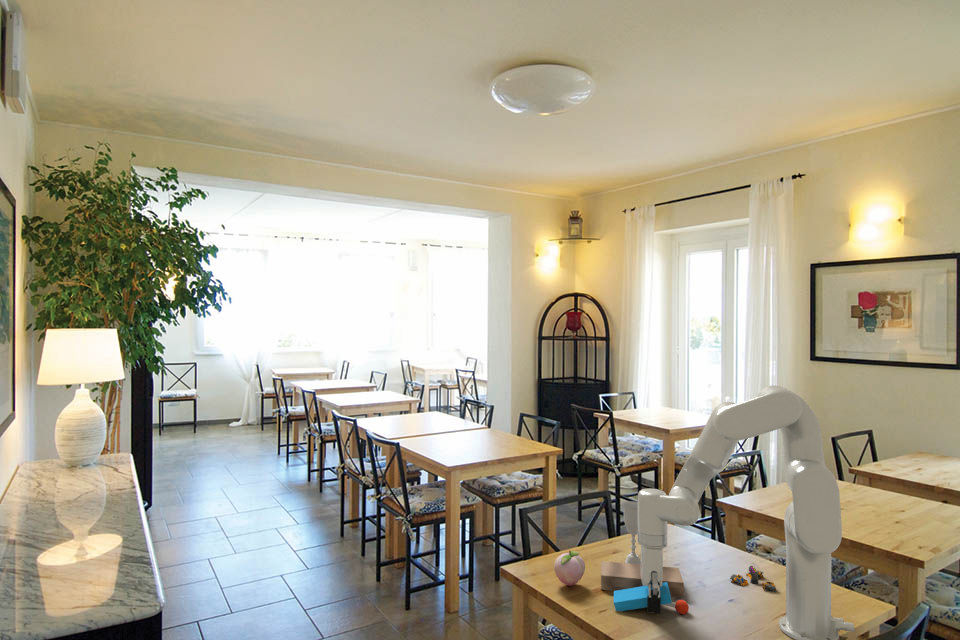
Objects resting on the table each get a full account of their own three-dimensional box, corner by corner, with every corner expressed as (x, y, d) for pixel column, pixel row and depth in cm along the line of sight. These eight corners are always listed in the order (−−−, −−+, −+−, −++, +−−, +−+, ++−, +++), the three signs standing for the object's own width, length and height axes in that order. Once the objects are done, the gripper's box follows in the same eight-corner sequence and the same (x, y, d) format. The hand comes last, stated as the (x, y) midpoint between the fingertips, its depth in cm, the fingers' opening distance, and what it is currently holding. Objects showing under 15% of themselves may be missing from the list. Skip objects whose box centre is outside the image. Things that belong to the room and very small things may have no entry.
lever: (621, 629, 149) (691, 619, 145) (613, 602, 149) (683, 591, 145) (621, 616, 156) (688, 606, 151) (613, 591, 156) (681, 579, 152)
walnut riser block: (678, 581, 167) (678, 567, 167) (683, 597, 157) (683, 582, 157) (600, 574, 171) (600, 561, 171) (601, 589, 161) (601, 575, 161)
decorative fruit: (561, 576, 170) (562, 542, 170) (588, 582, 165) (588, 548, 166) (548, 588, 162) (548, 552, 162) (576, 595, 157) (576, 559, 157)
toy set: (757, 599, 158) (757, 581, 158) (725, 581, 168) (725, 565, 168) (789, 591, 162) (789, 574, 162) (756, 575, 173) (756, 559, 173)
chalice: (617, 559, 182) (617, 502, 182) (634, 556, 185) (634, 500, 185) (632, 568, 175) (632, 509, 176) (649, 565, 178) (649, 506, 179)
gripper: (635, 525, 160) (635, 587, 159) (639, 549, 143) (639, 618, 143) (663, 527, 158) (663, 590, 158) (671, 551, 141) (671, 621, 141)
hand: (652, 603), depth 150 cm, fingers open, 9 cm apart
